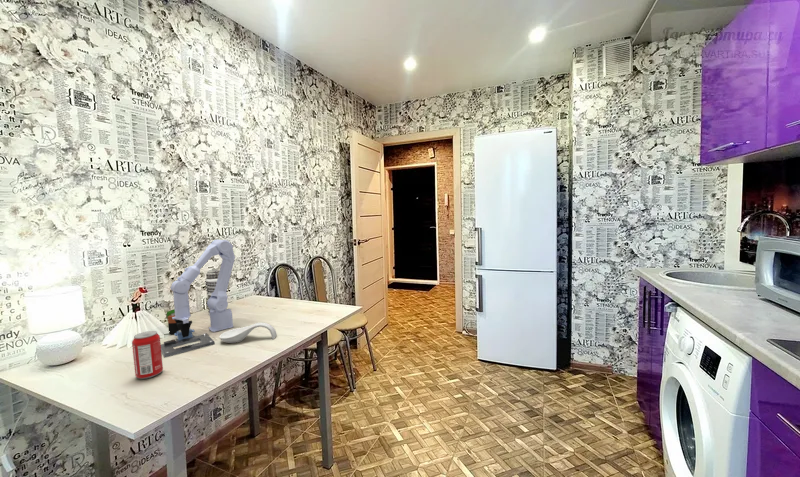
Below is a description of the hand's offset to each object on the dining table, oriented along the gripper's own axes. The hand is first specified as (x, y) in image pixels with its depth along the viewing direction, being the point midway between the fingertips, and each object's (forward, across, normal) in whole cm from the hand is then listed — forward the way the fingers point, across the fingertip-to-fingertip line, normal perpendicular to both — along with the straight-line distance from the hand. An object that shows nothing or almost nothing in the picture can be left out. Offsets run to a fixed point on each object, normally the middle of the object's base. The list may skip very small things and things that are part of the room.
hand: (184, 335), depth 153 cm
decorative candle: (+2, -32, +21) cm, 38 cm away
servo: (+2, 0, 0) cm, 2 cm away
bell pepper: (+2, -25, +1) cm, 25 cm away
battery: (+2, -12, -1) cm, 12 cm away
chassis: (+1, +12, -1) cm, 12 cm away
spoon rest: (+2, +24, +20) cm, 32 cm away
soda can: (+2, +33, -16) cm, 37 cm away
